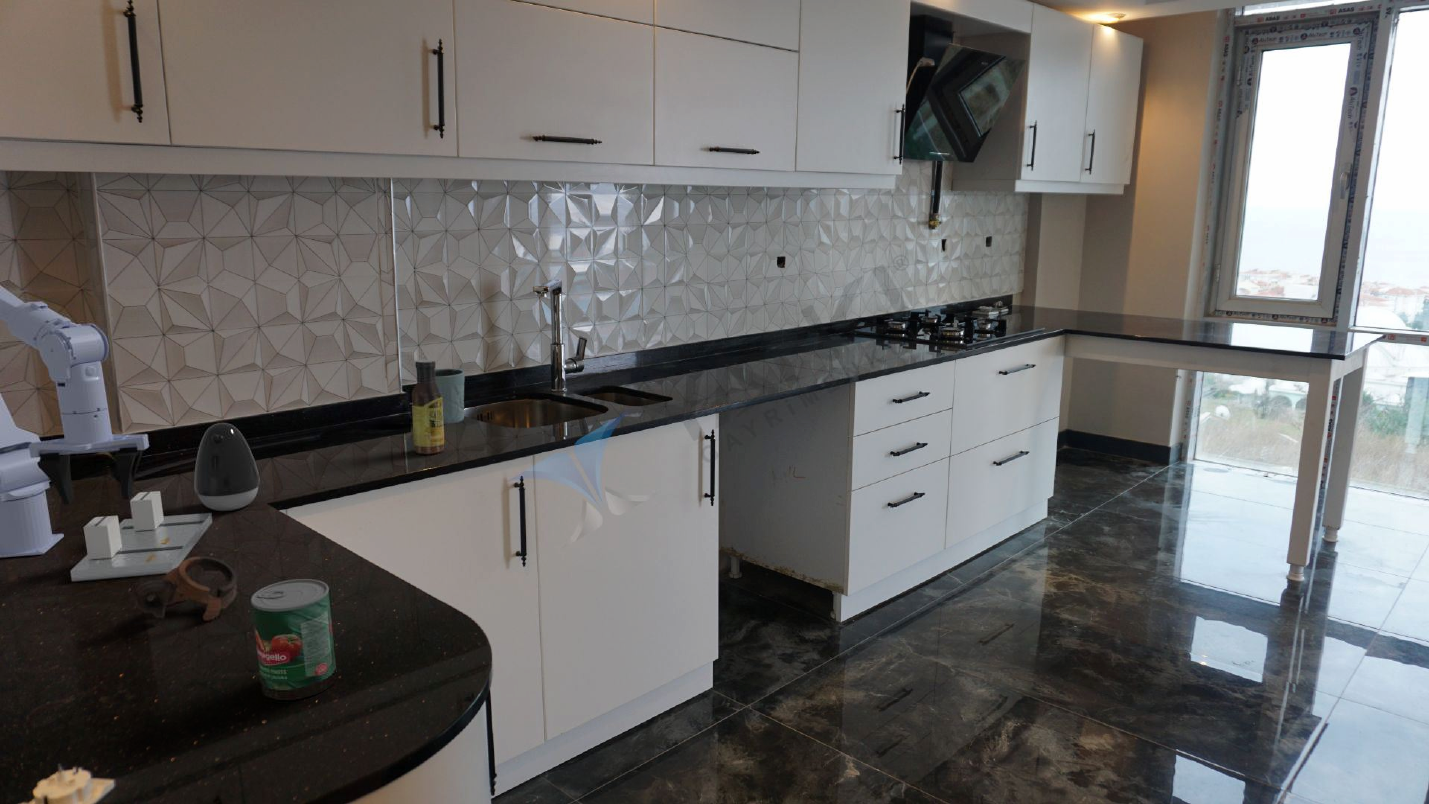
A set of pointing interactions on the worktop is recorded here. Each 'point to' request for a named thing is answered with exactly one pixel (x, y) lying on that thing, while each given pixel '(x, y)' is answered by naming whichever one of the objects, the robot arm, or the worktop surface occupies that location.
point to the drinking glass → (451, 393)
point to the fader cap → (103, 537)
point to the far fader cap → (147, 511)
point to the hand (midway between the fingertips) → (98, 499)
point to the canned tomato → (293, 633)
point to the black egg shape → (225, 469)
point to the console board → (147, 549)
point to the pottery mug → (187, 589)
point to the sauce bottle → (427, 410)
